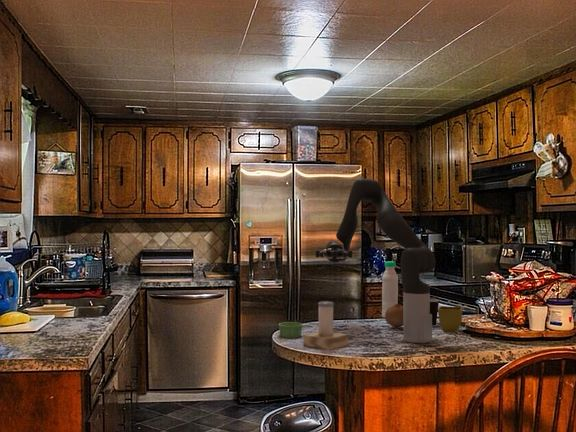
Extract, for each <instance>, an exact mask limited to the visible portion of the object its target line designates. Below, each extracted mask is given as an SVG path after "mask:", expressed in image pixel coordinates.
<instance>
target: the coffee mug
mask: <svg viewBox="0 0 576 432" xmlns="http://www.w3.org/2000/svg"><path fill="white" fill-rule="evenodd" d="M439 303H440V300H438V299H434V298H430V314H432V327H434V326H436V325H437V322H438V308H439V307H440V306H439Z"/></svg>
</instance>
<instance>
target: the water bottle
mask: <svg viewBox="0 0 576 432" xmlns="http://www.w3.org/2000/svg"><path fill="white" fill-rule="evenodd" d="M384 268H385V271H384V272H383V274H382V276H381V280H382V283H381V284H382V286H381V298H382V301H381V308H382V310H381V317H382V318H384V319H386V318H385V313H386V311H387V309H388V308H390V307H392V306H394V304H396V303H398V300H399V299H398V297H399V283H398V280H399V277H398V274H397V272H396V270H395V268H396V262H395V261H385V262H384ZM398 304H399V303H398Z"/></svg>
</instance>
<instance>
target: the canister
mask: <svg viewBox="0 0 576 432" xmlns="http://www.w3.org/2000/svg"><path fill="white" fill-rule="evenodd" d="M317 304H318V331H317V332H318V335H320V336H332V335H333V332H334V302H333V301H327V300H326V301H319V302H318V303H317Z"/></svg>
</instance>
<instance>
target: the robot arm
mask: <svg viewBox="0 0 576 432" xmlns="http://www.w3.org/2000/svg"><path fill="white" fill-rule="evenodd" d="M361 202H369V203H371V204H372V205H373V206H374V207H375V209H376V210H377V213H376V221H377V224H378V226H379V228H380V229H381V231H382V232H383V234H384V235H385V236H386V237H387V238H388V239H390V240H391V241H393V242H395V243H396V244H398V245H400V246H401V247H403V248H404V250H402V253H401V255H400V256H401V257H400V273H401V275H400V276H401V284H402V287H403V291H402V292H403V295H402V296H403V299H402V300H403V301H402V302H403V303H402V304H403V305H402V306H403V326H402V327H403V330H402V331H403V332H402V335H403V336H402V337H403V341H405V342H407V343H416V344H426V343H431V342H432V341H433V326H432V314H430V299H431V295H430V294H431V287H430V285H429V284H428V283H426V282H423V281H422V280H421V279H420V274H427V273H431V272H432V271H433V270H434V269H435V267H436V258H435V255H434V253H433V251H432V250H431V249H430V247H428V246H427V245H426V244H425V242H423V241H422V239H420V238H419V236H418V235H417V234H416V233H415V231H413V229H412V228H411V226H410V225H409V224H408V222H407V221H406V220H405V219H404V217H403V216H402V214H401V213H400V212H399V211H398V210H397V209H396V207H395V205H394V204H393V203H392V201H391V200H390V198H389V197H388V196H387V194H386V192H385V191H384V188H383V187H382V185H381V184H380V183H379V182H378V181H377V180H375V179H371V178H362V177H361V178H360V177H359V178H356V179H355V180H354V181H353V183H352V186H351V189H350V192H349V196H348V200H347V203H346V207H345V210H344V215H343V218H342V220H341V223H340V224H339V227H338V228H337V232H336V234H335V237H336V239H337V240H338V241H339V242H338V241H336V240H334V239H333V240H330V241H328V242H327V244H326V247H325V249H323V250H320V249H317V250H315V258H322V259H327V260H328V261H330V263H339V262H345V261H347V259H348V258H350V259H352V258H353V250H351V245H352V244H351V243H352V241H353V238H354V235H355V233H356V231H357V229H358V224H359V221H358V212H357V211H358V206H359V205H360V203H361Z"/></svg>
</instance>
